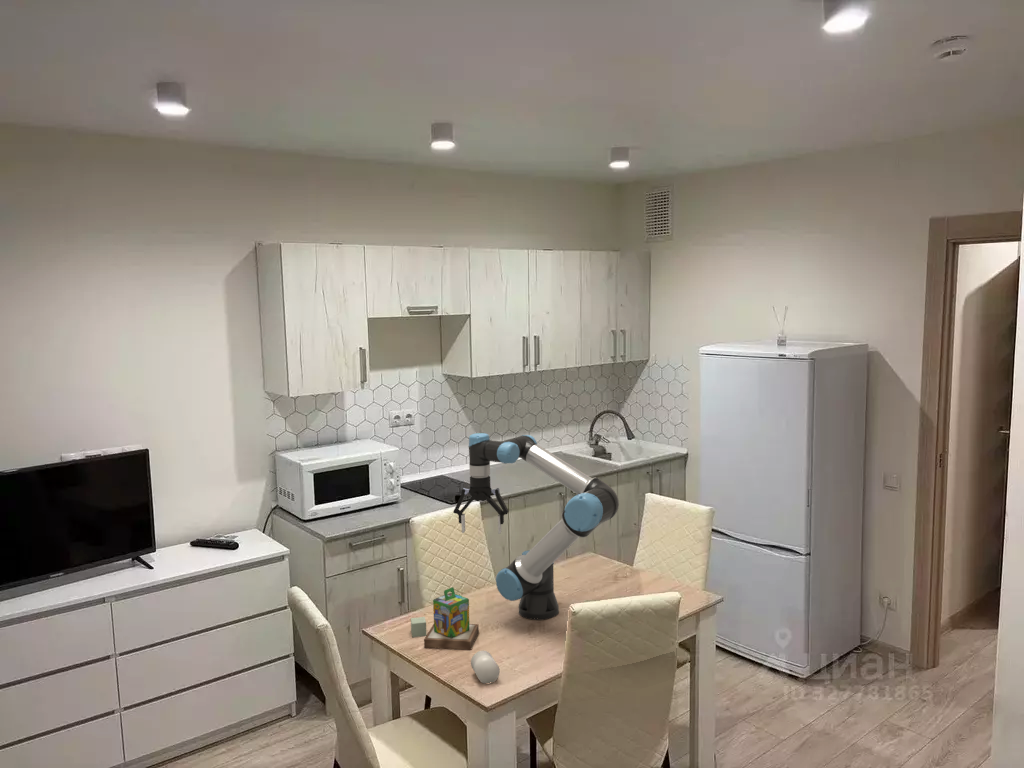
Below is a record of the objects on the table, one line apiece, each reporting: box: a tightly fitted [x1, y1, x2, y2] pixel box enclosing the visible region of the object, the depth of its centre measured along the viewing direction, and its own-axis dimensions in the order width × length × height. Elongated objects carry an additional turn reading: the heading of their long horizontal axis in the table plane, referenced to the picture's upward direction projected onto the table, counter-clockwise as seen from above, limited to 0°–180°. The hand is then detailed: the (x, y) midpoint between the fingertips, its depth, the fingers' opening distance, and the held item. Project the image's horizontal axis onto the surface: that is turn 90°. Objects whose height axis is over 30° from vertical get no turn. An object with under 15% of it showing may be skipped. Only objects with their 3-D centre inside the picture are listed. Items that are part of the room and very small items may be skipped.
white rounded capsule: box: [470, 650, 500, 685], centre depth 232 cm, size 7×7×8 cm
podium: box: [423, 623, 480, 651], centre depth 260 cm, size 16×14×3 cm
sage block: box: [410, 616, 428, 638], centre depth 266 cm, size 5×5×5 cm
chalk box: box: [432, 586, 470, 638], centre depth 259 cm, size 9×9×15 cm
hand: (481, 532), depth 278 cm, fingers open, 13 cm apart
